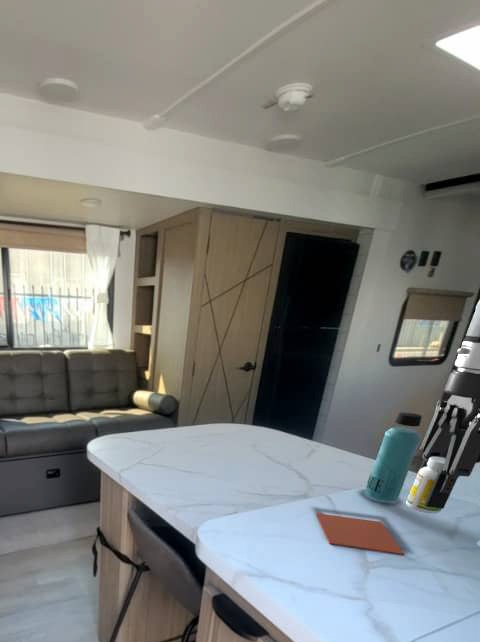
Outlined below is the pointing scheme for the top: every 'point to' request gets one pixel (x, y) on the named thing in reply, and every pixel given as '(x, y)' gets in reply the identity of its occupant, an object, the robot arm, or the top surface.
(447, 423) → the robot arm
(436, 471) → the supplement bottle
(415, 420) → the beverage bottle
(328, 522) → the cloth
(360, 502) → the top surface
